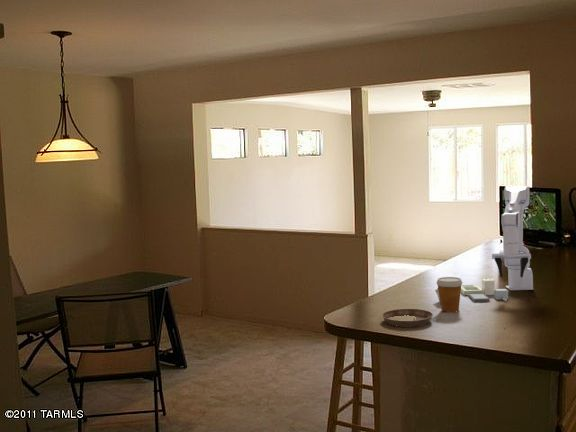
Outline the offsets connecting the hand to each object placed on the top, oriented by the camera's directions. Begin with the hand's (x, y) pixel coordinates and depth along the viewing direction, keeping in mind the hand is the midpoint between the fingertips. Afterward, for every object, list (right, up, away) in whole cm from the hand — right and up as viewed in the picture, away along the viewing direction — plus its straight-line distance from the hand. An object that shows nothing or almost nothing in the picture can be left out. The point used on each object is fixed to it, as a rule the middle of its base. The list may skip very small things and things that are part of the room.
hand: (511, 276), depth 240 cm
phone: (-12, -9, +3) cm, 16 cm away
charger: (-5, -8, +12) cm, 15 cm away
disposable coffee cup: (-28, -12, -13) cm, 33 cm away
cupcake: (-25, -10, +1) cm, 27 cm away
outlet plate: (-11, -8, +16) cm, 21 cm away
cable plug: (-3, -9, 0) cm, 10 cm away
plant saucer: (-46, -14, -26) cm, 55 cm away
